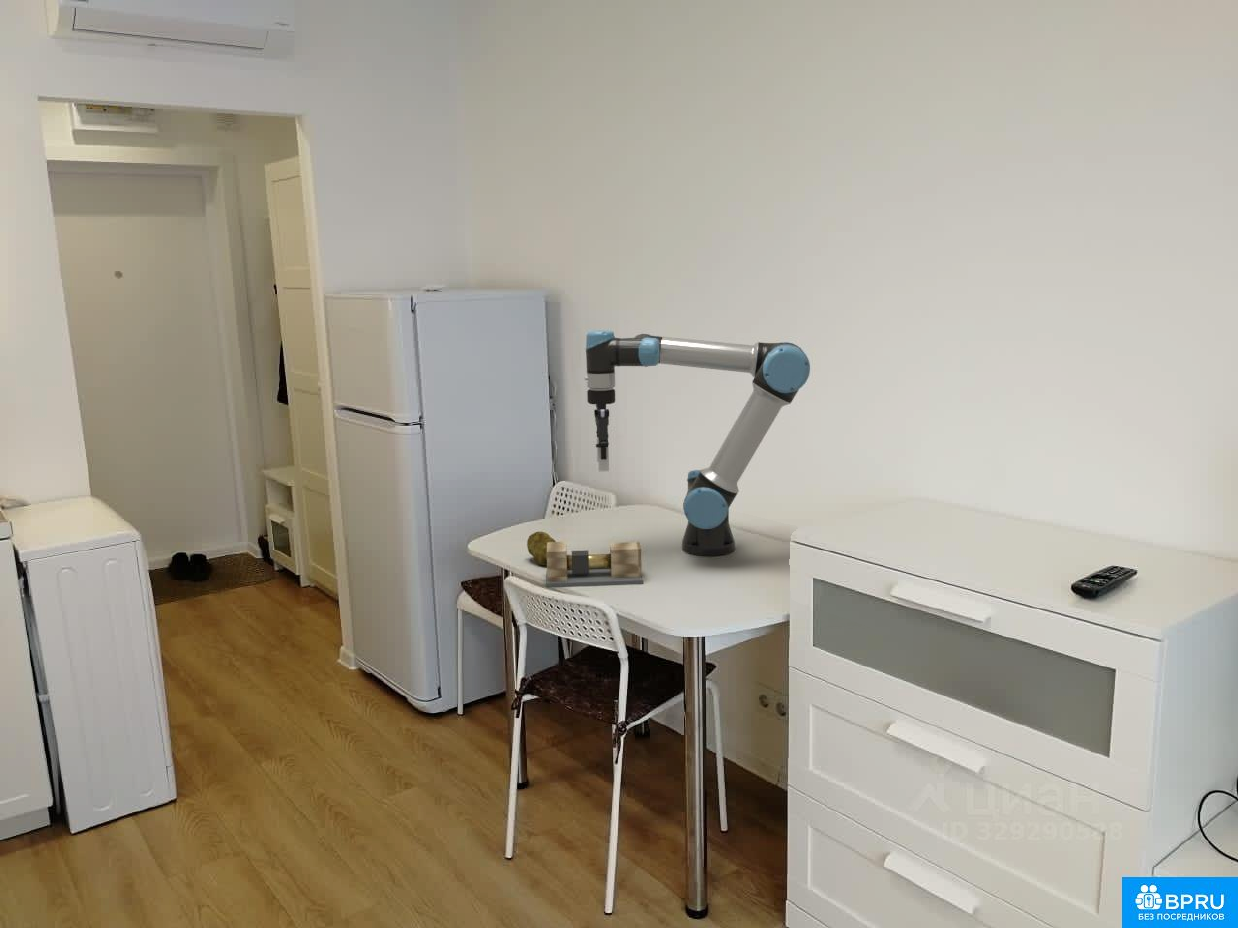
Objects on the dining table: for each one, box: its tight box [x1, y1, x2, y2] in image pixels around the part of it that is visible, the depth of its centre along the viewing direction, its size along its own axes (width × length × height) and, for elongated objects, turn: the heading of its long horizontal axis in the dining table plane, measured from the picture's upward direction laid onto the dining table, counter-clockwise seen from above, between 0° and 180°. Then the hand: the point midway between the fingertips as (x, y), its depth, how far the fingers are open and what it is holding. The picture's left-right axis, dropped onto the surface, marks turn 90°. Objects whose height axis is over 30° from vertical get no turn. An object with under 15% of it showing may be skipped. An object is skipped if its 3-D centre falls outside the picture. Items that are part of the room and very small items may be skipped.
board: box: [545, 569, 644, 588], centre depth 255 cm, size 25×12×1 cm, turn 93°
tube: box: [566, 549, 611, 574], centre depth 255 cm, size 17×4×5 cm, turn 93°
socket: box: [546, 541, 568, 582], centre depth 254 cm, size 5×9×8 cm, turn 3°
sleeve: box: [609, 541, 643, 578], centre depth 255 cm, size 8×7×8 cm
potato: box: [526, 531, 557, 567], centre depth 270 cm, size 8×13×8 cm, turn 16°
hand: (603, 466), depth 266 cm, fingers open, 13 cm apart
